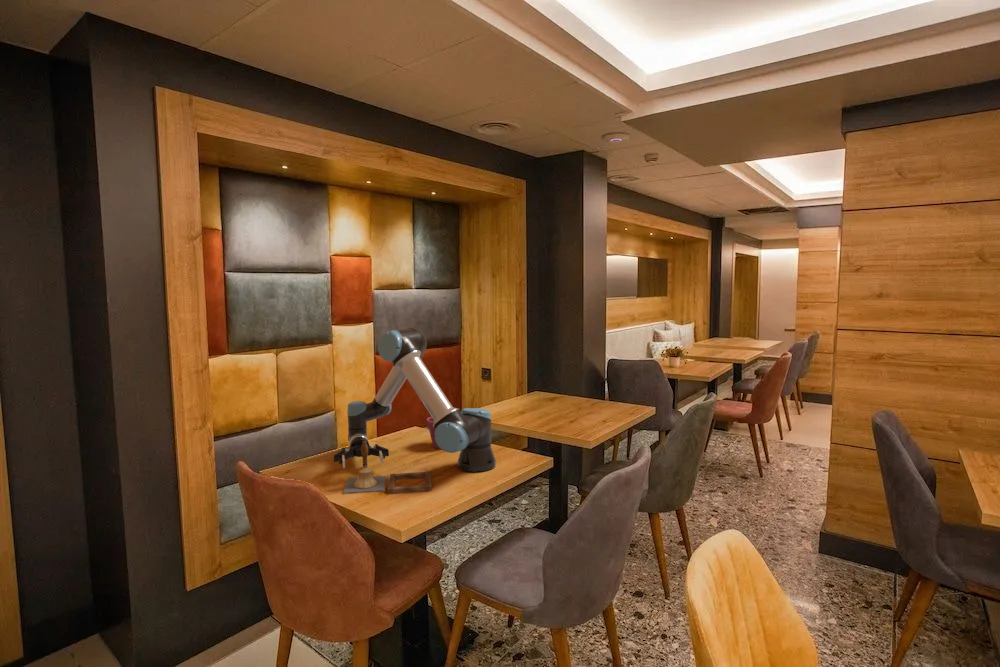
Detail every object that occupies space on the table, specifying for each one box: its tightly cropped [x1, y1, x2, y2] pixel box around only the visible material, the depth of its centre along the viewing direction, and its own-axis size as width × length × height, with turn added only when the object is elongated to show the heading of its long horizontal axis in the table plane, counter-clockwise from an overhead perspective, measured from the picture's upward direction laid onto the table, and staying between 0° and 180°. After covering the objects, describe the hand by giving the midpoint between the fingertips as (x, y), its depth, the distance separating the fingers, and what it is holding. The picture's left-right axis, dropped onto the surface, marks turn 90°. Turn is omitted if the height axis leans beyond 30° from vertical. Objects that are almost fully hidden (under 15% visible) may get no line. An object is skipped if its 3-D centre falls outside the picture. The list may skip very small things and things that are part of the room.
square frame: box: [387, 471, 432, 494], centre depth 186 cm, size 15×15×2 cm
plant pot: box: [426, 415, 442, 450], centre depth 230 cm, size 14×14×13 cm
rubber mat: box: [342, 475, 388, 494], centre depth 185 cm, size 14×14×1 cm
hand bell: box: [354, 441, 377, 489], centre depth 184 cm, size 8×8×16 cm
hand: (363, 462), depth 187 cm, fingers open, 13 cm apart
